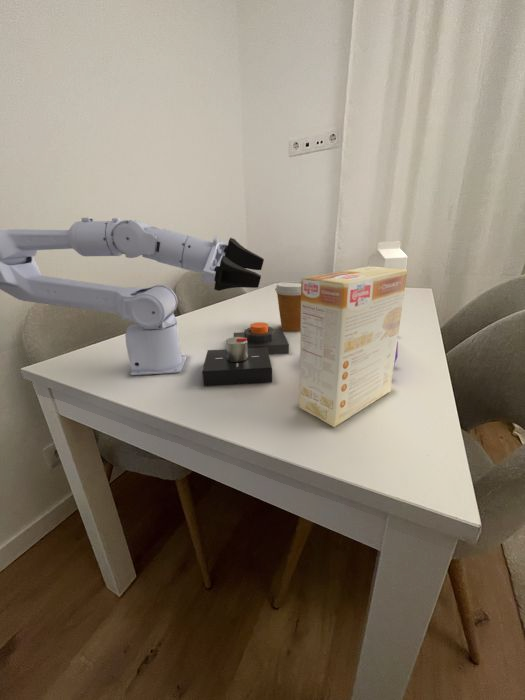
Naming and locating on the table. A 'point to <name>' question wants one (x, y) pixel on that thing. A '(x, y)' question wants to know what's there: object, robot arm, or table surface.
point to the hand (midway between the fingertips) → (261, 272)
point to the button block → (266, 340)
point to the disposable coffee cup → (289, 305)
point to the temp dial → (236, 349)
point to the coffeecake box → (348, 339)
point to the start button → (259, 328)
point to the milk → (388, 256)
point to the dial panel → (237, 368)
